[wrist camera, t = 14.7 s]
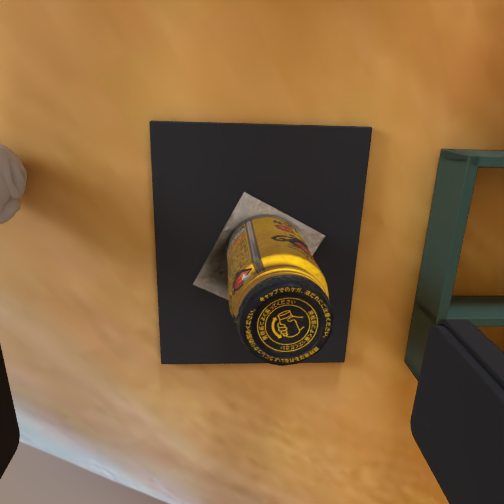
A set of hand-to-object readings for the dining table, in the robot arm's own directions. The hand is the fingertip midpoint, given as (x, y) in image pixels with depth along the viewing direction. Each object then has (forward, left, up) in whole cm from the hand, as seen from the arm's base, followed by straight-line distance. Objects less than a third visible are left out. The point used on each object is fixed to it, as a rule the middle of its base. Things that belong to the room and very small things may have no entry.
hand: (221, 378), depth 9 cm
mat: (+6, +3, -24) cm, 25 cm away
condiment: (+6, +3, -24) cm, 25 cm away
